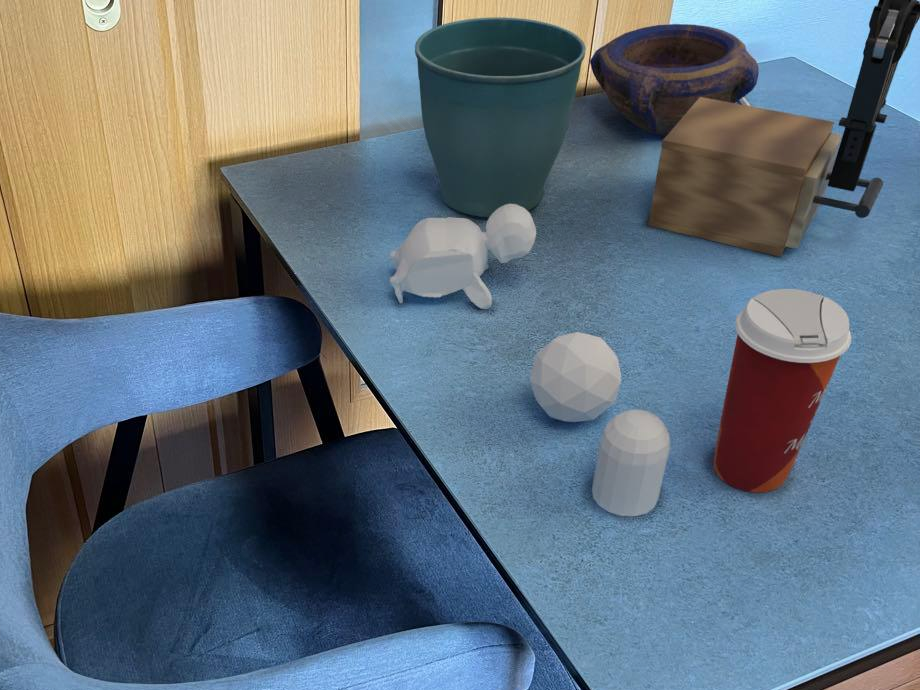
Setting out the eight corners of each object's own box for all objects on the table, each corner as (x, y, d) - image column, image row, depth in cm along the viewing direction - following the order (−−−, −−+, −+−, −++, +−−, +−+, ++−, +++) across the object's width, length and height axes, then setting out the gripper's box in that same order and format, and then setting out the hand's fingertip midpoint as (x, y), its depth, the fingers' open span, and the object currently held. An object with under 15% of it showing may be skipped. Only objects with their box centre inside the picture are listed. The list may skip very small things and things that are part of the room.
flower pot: (440, 153, 129) (443, 8, 117) (582, 172, 125) (600, 24, 113) (393, 220, 117) (392, 66, 105) (549, 243, 113) (565, 85, 101)
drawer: (874, 214, 114) (897, 145, 109) (851, 262, 107) (875, 190, 102) (703, 178, 121) (717, 110, 116) (671, 220, 114) (685, 151, 109)
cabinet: (809, 206, 118) (834, 121, 111) (780, 257, 110) (805, 169, 103) (683, 179, 123) (700, 96, 116) (647, 225, 115) (662, 139, 109)
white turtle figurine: (411, 335, 106) (552, 287, 102) (379, 267, 101) (527, 213, 96) (410, 291, 112) (544, 244, 108) (380, 224, 107) (520, 172, 102)
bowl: (574, 101, 140) (583, 23, 133) (700, 89, 142) (715, 12, 135) (620, 158, 128) (632, 75, 121) (756, 144, 130) (776, 61, 123)
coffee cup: (814, 501, 83) (873, 344, 72) (712, 503, 83) (756, 347, 72) (784, 435, 89) (835, 281, 78) (689, 437, 89) (726, 284, 78)
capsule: (672, 501, 83) (691, 423, 78) (620, 525, 81) (636, 447, 76) (628, 464, 87) (644, 387, 81) (578, 486, 85) (590, 409, 79)
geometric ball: (582, 448, 92) (603, 426, 84) (506, 402, 93) (520, 375, 85) (625, 379, 93) (650, 351, 85) (550, 333, 94) (567, 301, 86)
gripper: (891, -89, 97) (820, 154, 114) (862, -51, 89) (790, 204, 106) (977, -79, 94) (891, 168, 111) (955, -39, 87) (865, 220, 103)
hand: (841, 185), depth 109 cm, fingers closed
